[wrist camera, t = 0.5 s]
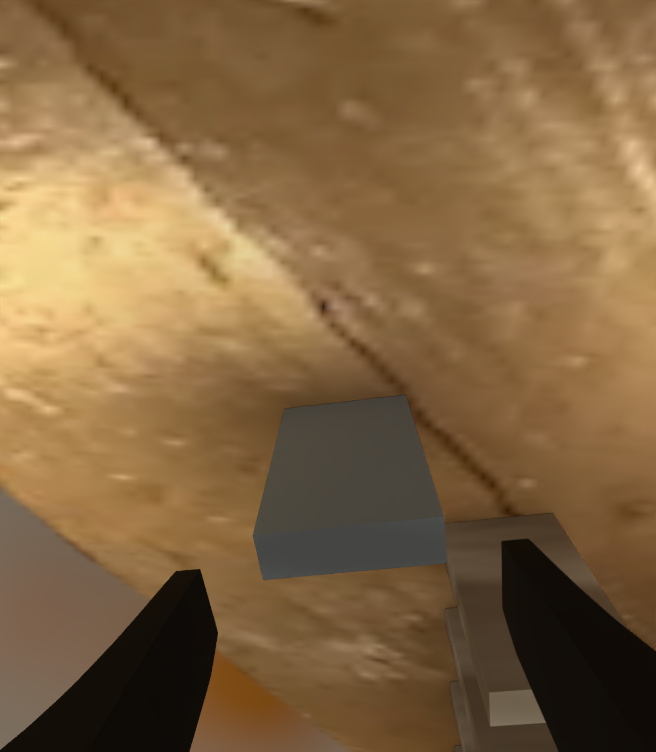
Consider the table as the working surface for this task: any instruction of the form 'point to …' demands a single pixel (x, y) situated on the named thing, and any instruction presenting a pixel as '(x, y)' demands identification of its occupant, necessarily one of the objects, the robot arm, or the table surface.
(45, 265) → the table surface
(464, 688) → the domino
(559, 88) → the table surface
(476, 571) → the domino
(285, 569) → the domino
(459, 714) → the domino
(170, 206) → the table surface
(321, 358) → the table surface
